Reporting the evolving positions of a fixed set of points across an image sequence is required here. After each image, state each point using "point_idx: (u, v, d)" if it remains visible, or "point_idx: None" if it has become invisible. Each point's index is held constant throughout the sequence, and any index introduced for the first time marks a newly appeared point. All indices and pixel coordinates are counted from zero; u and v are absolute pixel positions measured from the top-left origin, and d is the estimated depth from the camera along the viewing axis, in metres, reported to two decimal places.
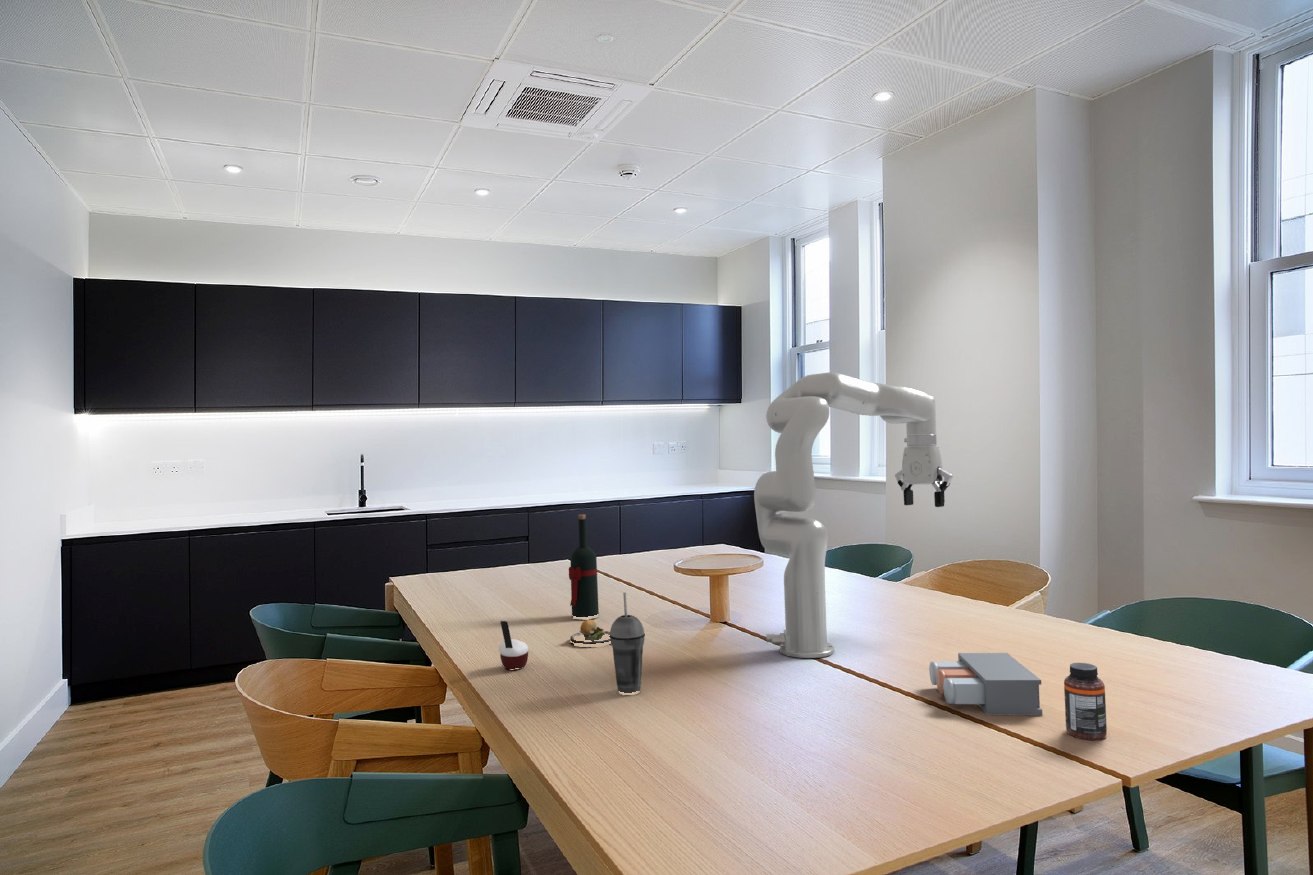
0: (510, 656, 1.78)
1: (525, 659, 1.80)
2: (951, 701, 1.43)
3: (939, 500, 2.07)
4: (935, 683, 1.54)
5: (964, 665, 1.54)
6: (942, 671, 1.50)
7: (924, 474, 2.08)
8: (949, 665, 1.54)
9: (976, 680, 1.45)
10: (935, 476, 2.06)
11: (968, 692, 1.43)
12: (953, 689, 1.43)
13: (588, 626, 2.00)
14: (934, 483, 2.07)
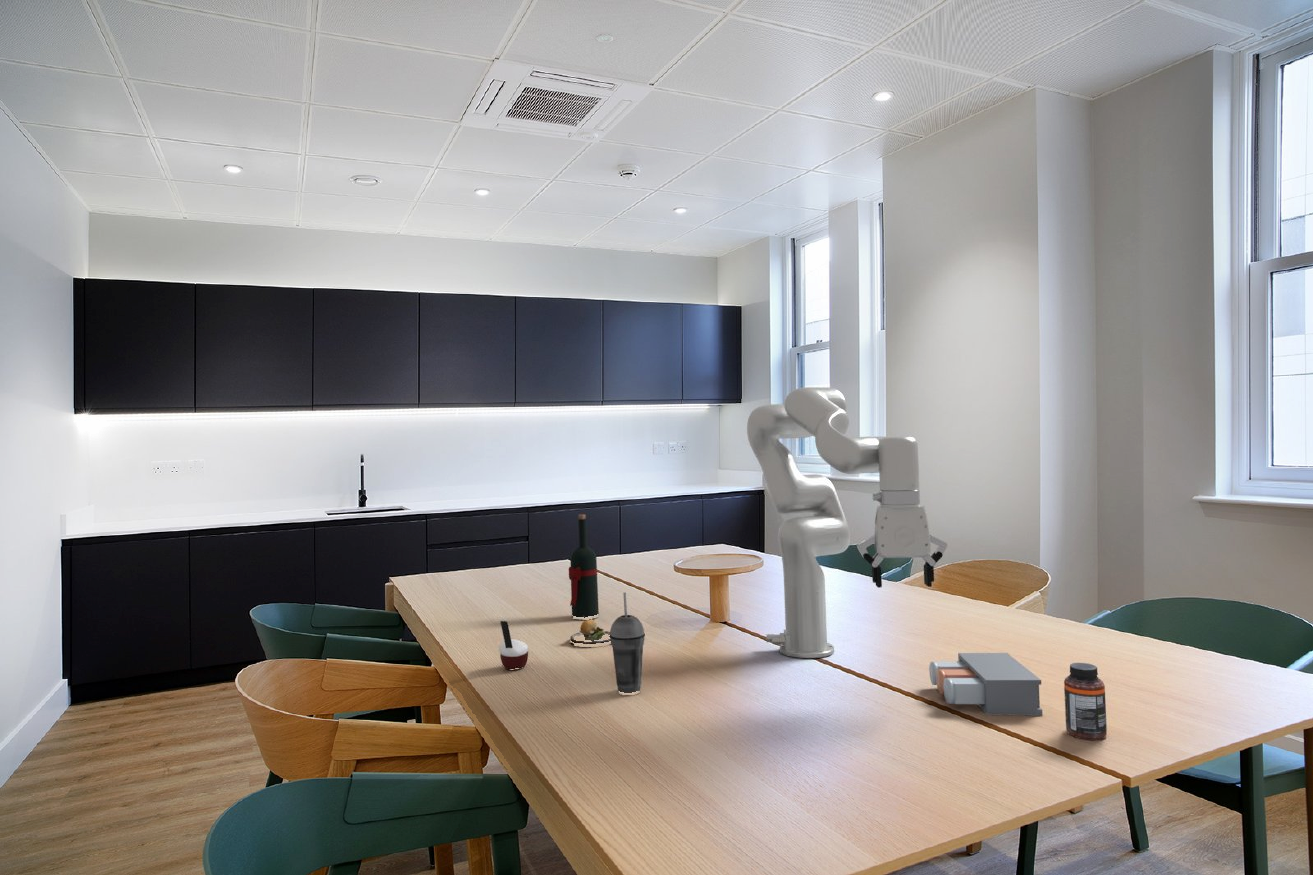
0: (510, 656, 1.78)
1: (525, 659, 1.80)
2: (951, 701, 1.43)
3: (931, 577, 1.55)
4: (935, 683, 1.54)
5: (964, 665, 1.54)
6: (942, 671, 1.50)
7: (918, 543, 1.54)
8: (949, 665, 1.54)
9: (976, 680, 1.45)
10: None
11: (968, 692, 1.43)
12: (953, 689, 1.43)
13: (588, 626, 2.00)
14: None
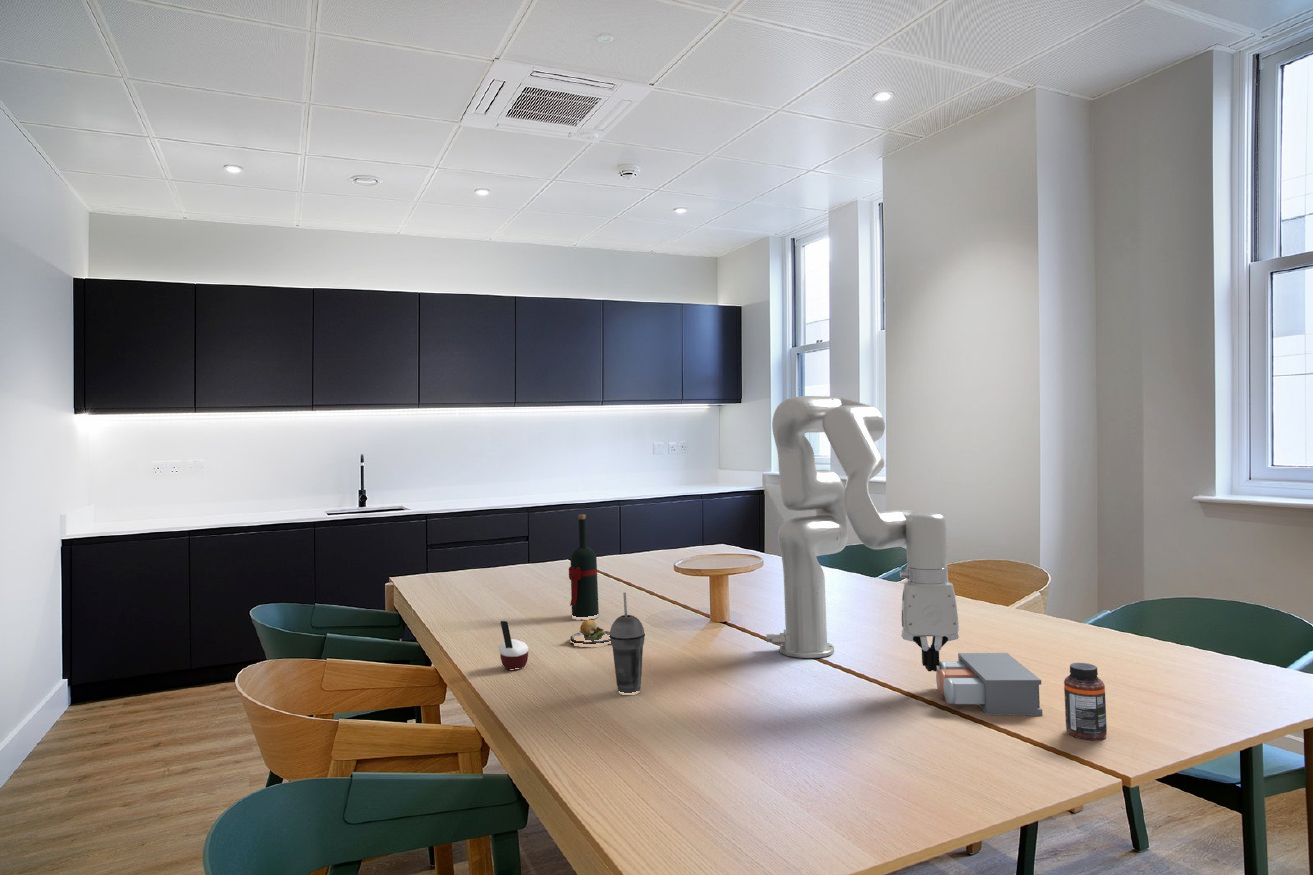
0: (510, 656, 1.78)
1: (525, 659, 1.80)
2: (951, 701, 1.43)
3: (937, 661, 1.55)
4: None
5: None
6: (942, 671, 1.50)
7: (946, 622, 1.53)
8: (957, 665, 1.54)
9: (976, 680, 1.45)
10: None
11: (968, 692, 1.43)
12: (953, 689, 1.43)
13: (588, 626, 2.00)
14: (940, 638, 1.54)
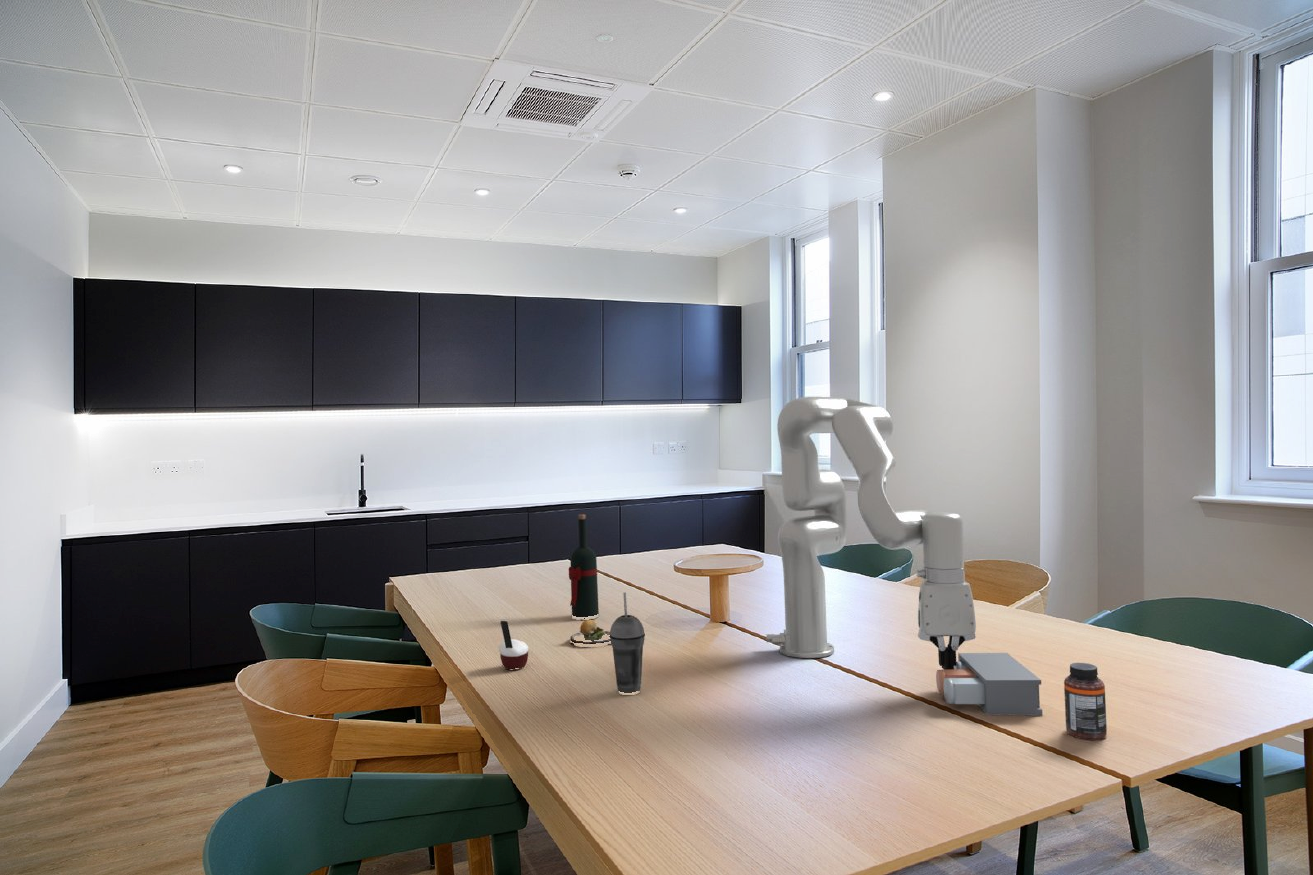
0: (510, 656, 1.78)
1: (525, 659, 1.80)
2: (951, 701, 1.43)
3: (954, 661, 1.54)
4: None
5: None
6: (942, 671, 1.50)
7: (963, 622, 1.52)
8: None
9: (976, 680, 1.45)
10: None
11: (968, 692, 1.43)
12: (953, 689, 1.43)
13: (588, 626, 2.00)
14: (957, 638, 1.54)
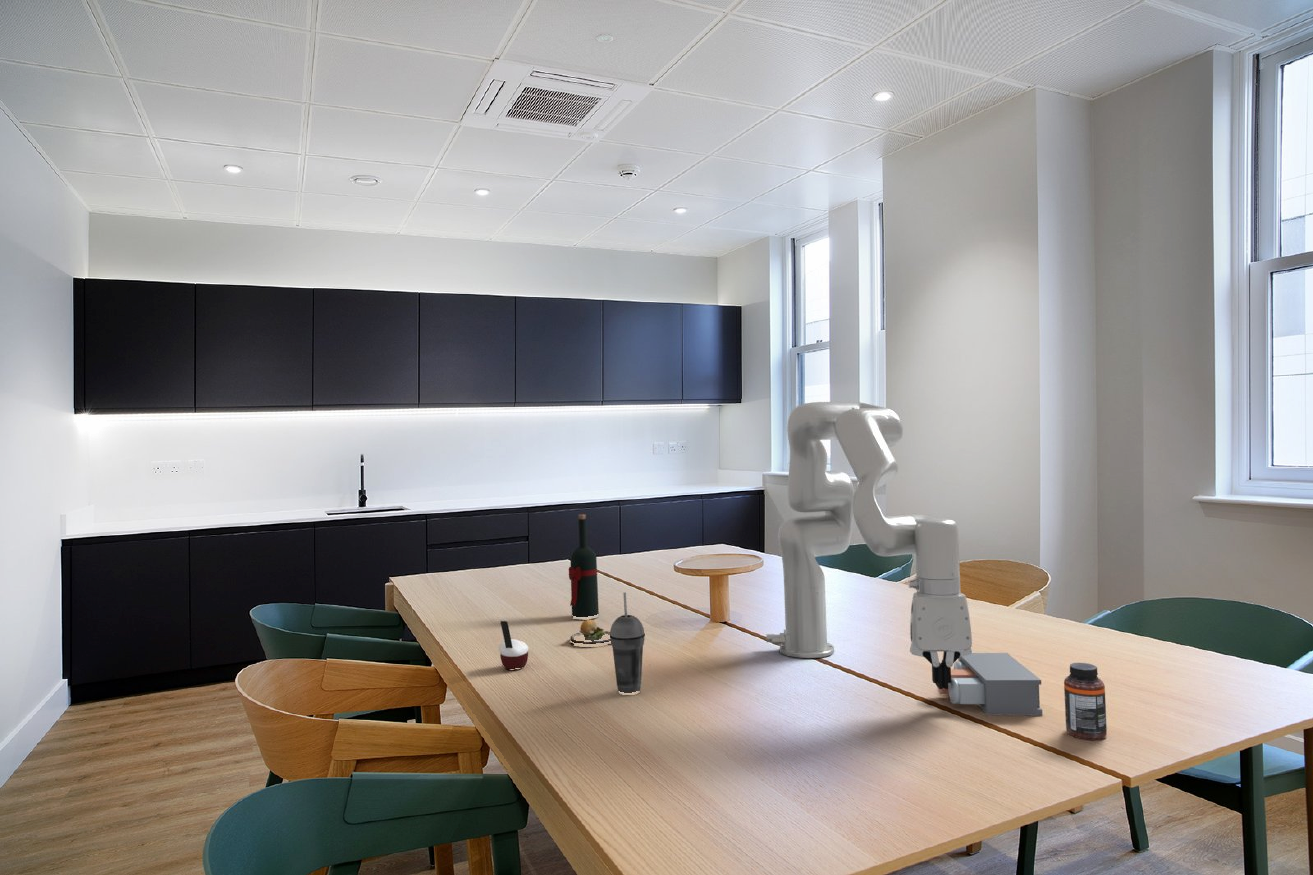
0: (510, 656, 1.78)
1: (525, 659, 1.80)
2: (956, 701, 1.43)
3: (948, 678, 1.44)
4: None
5: None
6: None
7: (958, 637, 1.42)
8: None
9: (981, 680, 1.45)
10: None
11: (973, 692, 1.43)
12: (958, 689, 1.43)
13: (588, 626, 2.00)
14: (952, 653, 1.43)
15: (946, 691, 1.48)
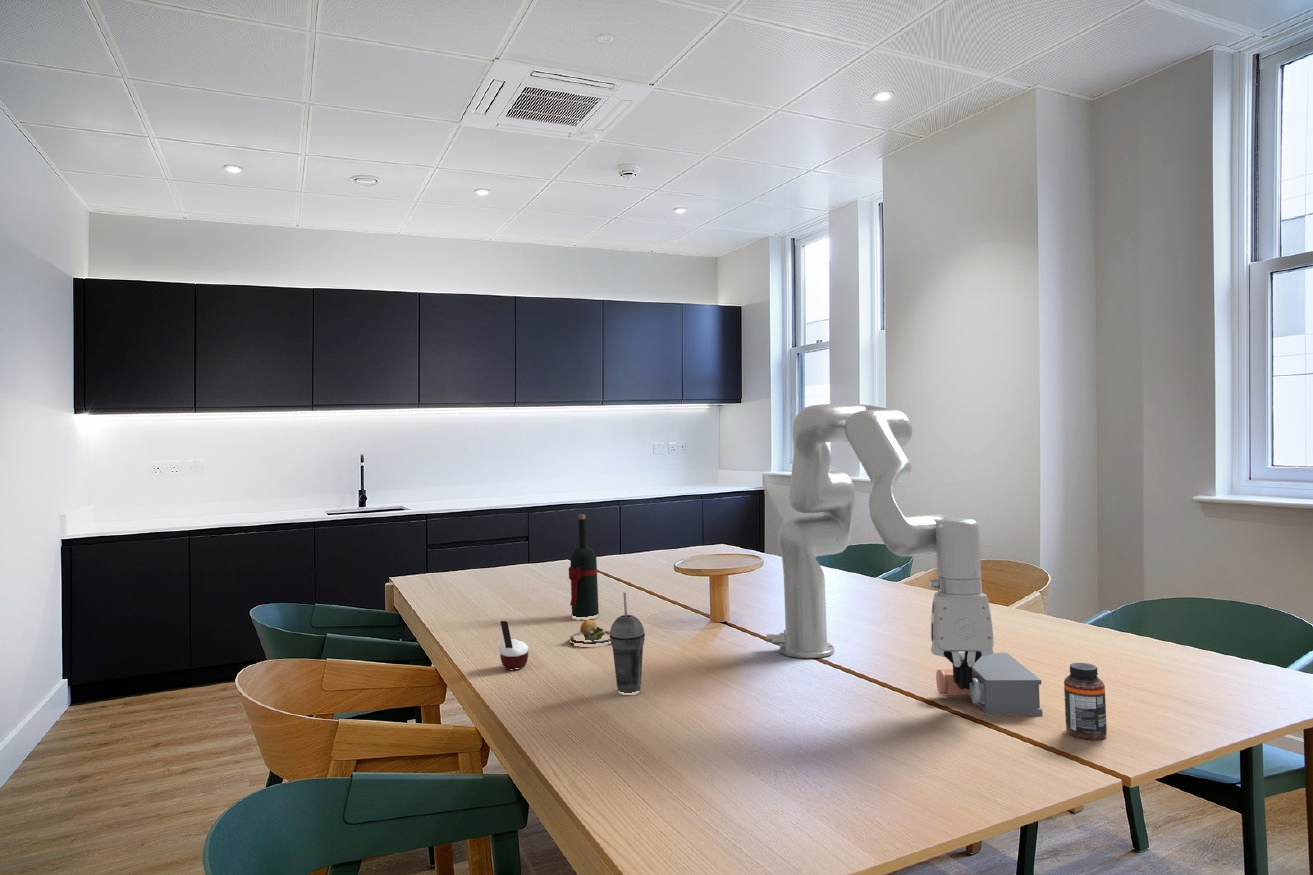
0: (510, 656, 1.78)
1: (525, 659, 1.80)
2: (978, 701, 1.43)
3: (970, 678, 1.44)
4: None
5: None
6: (942, 671, 1.50)
7: (980, 636, 1.42)
8: None
9: None
10: None
11: None
12: (980, 689, 1.42)
13: (588, 626, 2.00)
14: (973, 653, 1.43)
15: (946, 691, 1.48)
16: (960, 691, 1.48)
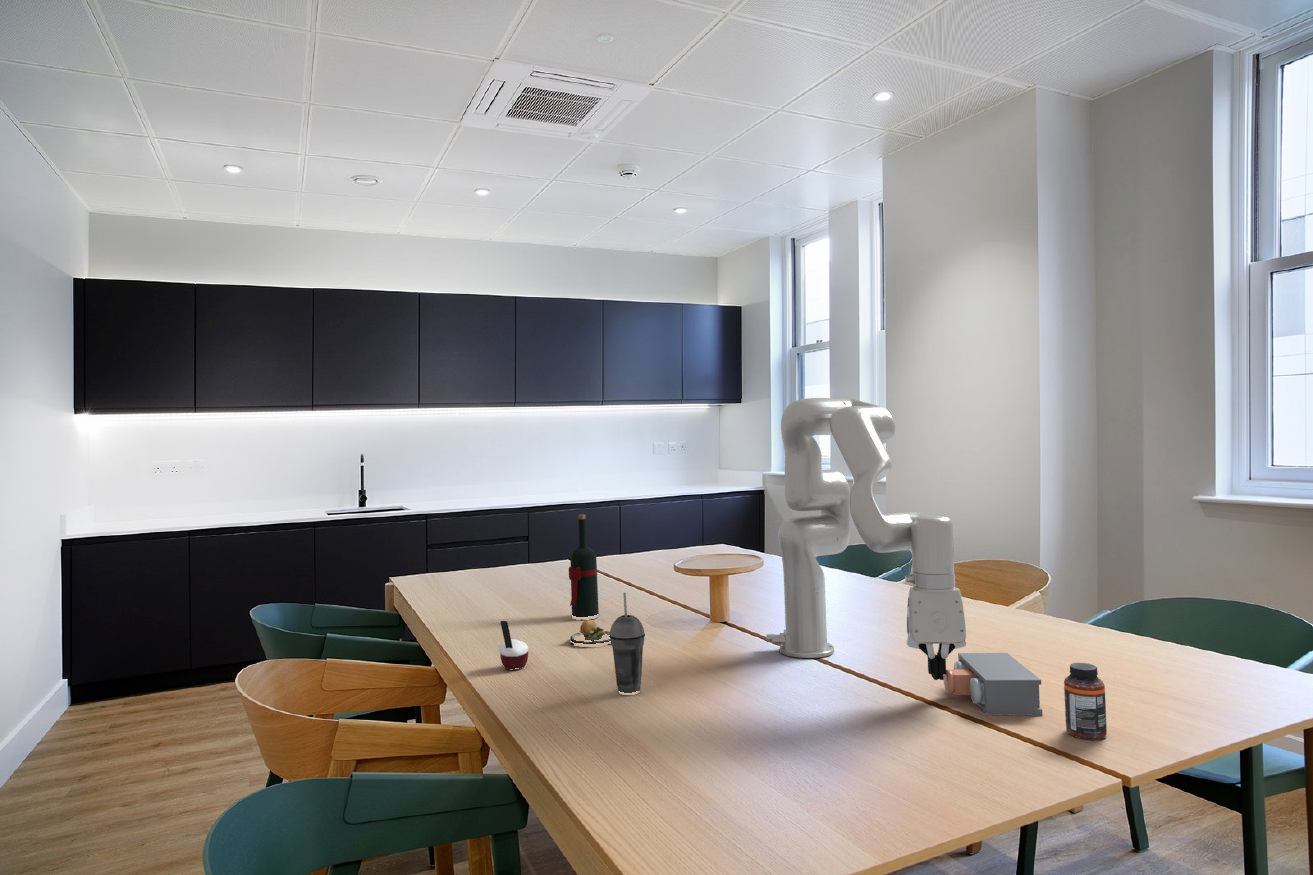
0: (510, 656, 1.78)
1: (525, 659, 1.80)
2: (978, 701, 1.43)
3: (943, 670, 1.49)
4: None
5: None
6: (950, 671, 1.50)
7: (953, 629, 1.47)
8: None
9: None
10: None
11: None
12: (980, 689, 1.42)
13: (588, 626, 2.00)
14: (946, 646, 1.49)
15: (954, 691, 1.48)
16: (968, 691, 1.48)
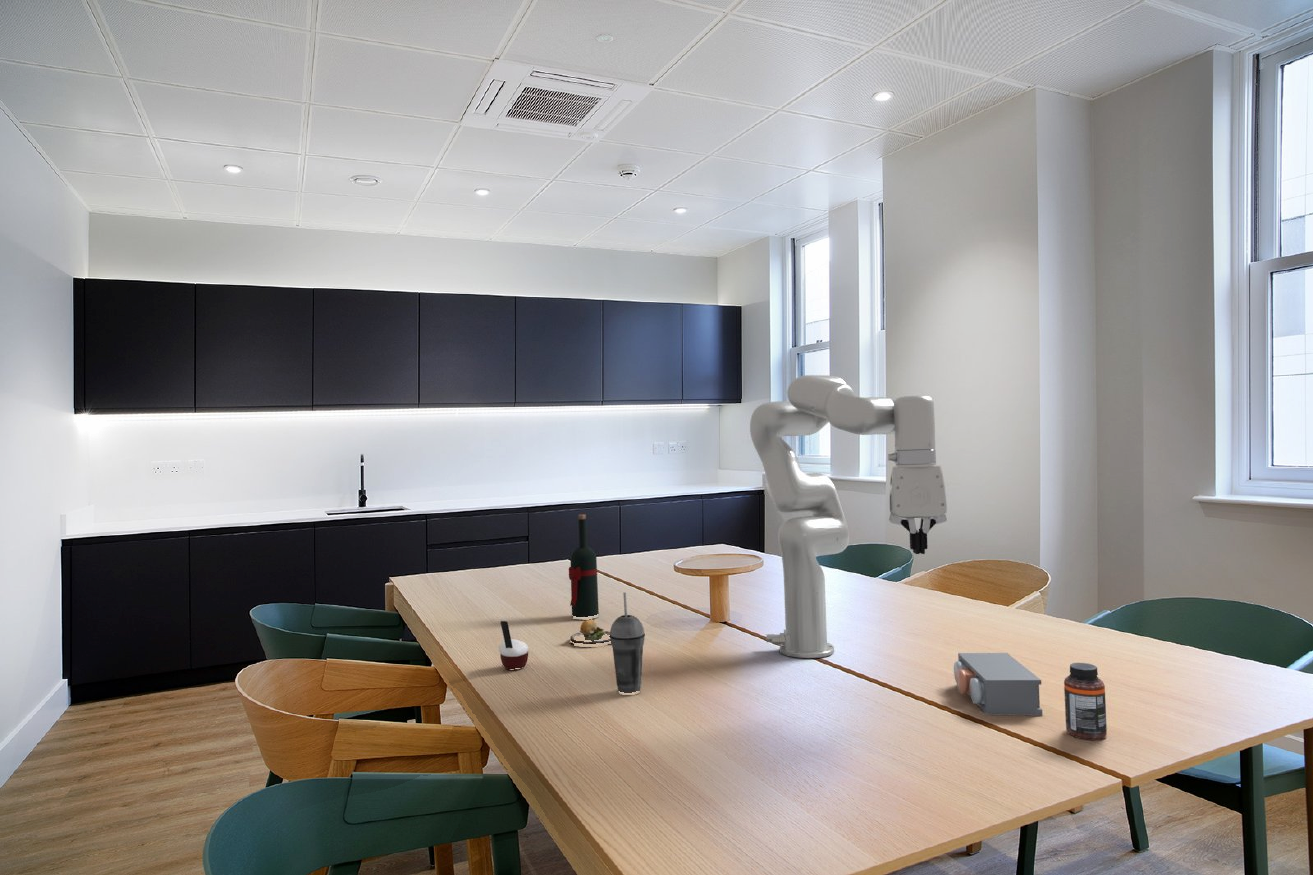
0: (510, 656, 1.78)
1: (525, 659, 1.80)
2: (978, 701, 1.43)
3: (925, 544, 1.54)
4: None
5: None
6: (962, 671, 1.49)
7: (934, 503, 1.52)
8: None
9: None
10: None
11: None
12: (980, 689, 1.42)
13: (588, 626, 2.00)
14: (928, 520, 1.53)
15: (967, 691, 1.48)
16: None
